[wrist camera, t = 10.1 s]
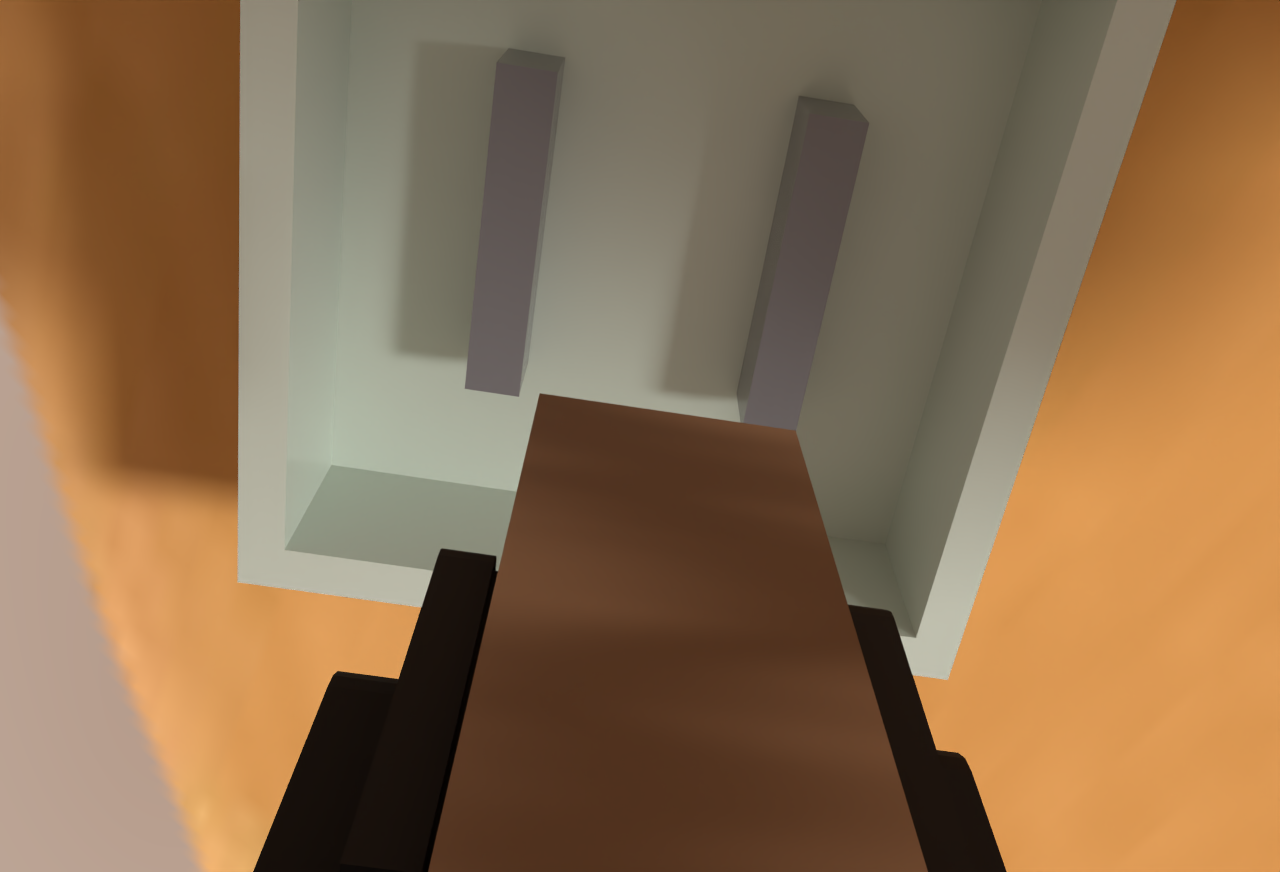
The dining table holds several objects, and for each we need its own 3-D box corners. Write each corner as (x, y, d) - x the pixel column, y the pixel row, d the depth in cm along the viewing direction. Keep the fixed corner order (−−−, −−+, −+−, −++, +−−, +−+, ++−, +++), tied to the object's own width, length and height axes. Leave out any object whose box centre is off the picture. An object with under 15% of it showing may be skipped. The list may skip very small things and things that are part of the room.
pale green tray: (1102, -92, 24) (1204, -83, 19) (906, 562, 31) (947, 679, 26) (323, -229, 23) (241, -253, 19) (300, 475, 30) (237, 582, 26)
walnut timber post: (795, 430, 14) (1028, 1208, 5) (732, 710, 15) (835, 1649, 7) (539, 393, 13) (367, 1136, 5) (502, 680, 15) (323, 1604, 7)
